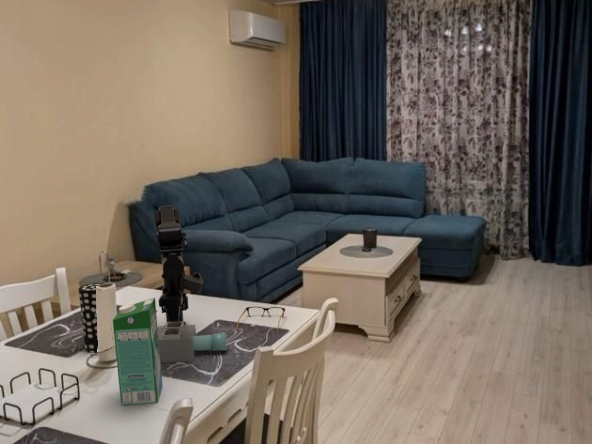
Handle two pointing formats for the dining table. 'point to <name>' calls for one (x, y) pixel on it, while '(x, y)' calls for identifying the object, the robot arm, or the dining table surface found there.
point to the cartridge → (210, 342)
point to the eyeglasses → (263, 313)
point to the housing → (176, 343)
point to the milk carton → (138, 353)
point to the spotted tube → (89, 316)
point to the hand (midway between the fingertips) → (176, 319)
